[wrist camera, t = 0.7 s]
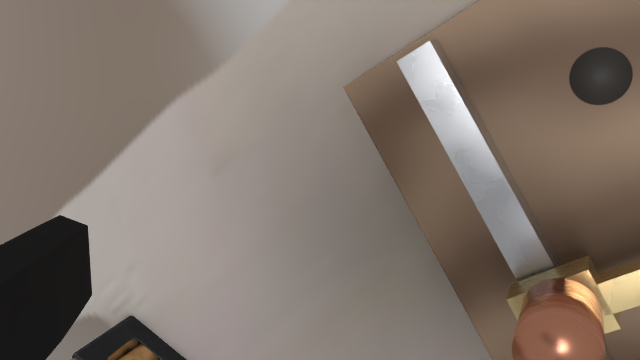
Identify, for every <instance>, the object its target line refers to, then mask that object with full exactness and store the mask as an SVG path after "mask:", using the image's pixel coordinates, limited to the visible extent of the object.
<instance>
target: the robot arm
mask: <svg viewBox="0 0 640 360" xmlns="http://www.w3.org/2000/svg"><path fill="white" fill-rule="evenodd" d="M91 296H92V287H91V271H90V255H89V238H88V226H87V225H85V224H82V223H79V222H77V221H74V220H71V219H69V218H66V217H63V216H61V215H59V216H57V217H55V218H53V219H51V220H49V221H47V222H45V223H43V224H41V225H39V226H37V227H35V228H33V229H31V230H29V231H27V232H25V233H23V234H21V235H19V236H17V237H15V238H13V239H11V240H9V241H7V242H5V243H4V244H2V245H0V360H46V358H47V357H48V356H49V355H50V354H51V353H52V351H53V350H54V349H55V348H56V346H57V345H58V344H59V343H60V342H61V341H62V339H63V338H64V336H65V335H66V333H67V332H68V331H69V329H70V328H71V326H72V325H73V323H74V322H75V320H76V319H77V317H78V316H79V314H80V313H81V311H82V310H83V308H84V307H85V305H86V303H87V302H88V300H89V299H90V297H91Z"/></svg>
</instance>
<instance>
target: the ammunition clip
mask: <svg viewBox="0 0 640 360" xmlns="http://www.w3.org/2000/svg"><path fill="white" fill-rule="evenodd" d="M71 360H186V359H185V358H184V357H183V356H181V355H180V354H179V353H178V352H176V351H175V350H174V349H173V348H172V347H170V346H169V345H168V344H167V343H165V342H164V341H163V340H162V339H161V338H159V337H158V336H157V335H156V334H155V333H153V332H152V331H151V330H150V329H148V328H147V327H146V326H145V325H144V324H142V323H141V322H140V321H139V320H137V319H136V318H135V317H134V316H129V317H128V318H126V319H125V320H123V321H122V322H120V323H119V324H117V325H116V326H114V327H113V328H111V329H110V330H108V331H107V332H105V333H104V334H102V335H101V336H99V337H98V338H96V339H95V340H93V341H92V342H90V343H89V344H87V345H86V346H84V347H83V348H81V349H80V350H78V351H77V352H75V353H74V354H73V356H72V359H71Z"/></svg>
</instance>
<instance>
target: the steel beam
mask: <svg viewBox="0 0 640 360" xmlns="http://www.w3.org/2000/svg"><path fill="white" fill-rule="evenodd" d="M396 62H397V63H398V65H399V67H400V69H401V71H402V72H403V74H404V76H405V78H406V80H407V82H408V83H409V85H410V87H411V89H412V91H413V92H414V94H415V96H416V98H417V100H418V102H419V103H420V105H421V107H422V109H423V111H424V112H425V114H426V116H427V118H428V120H429V122H430V123H431V125H432V127H433V129H434V131H435V132H436V134H437V136H438V138H439V140H440V142H441V143H442V145H443V147H444V149H445V151H446V152H447V154H448V156H449V158H450V160H451V162H452V163H453V165H454V167H455V169H456V171H457V172H458V174H459V176H460V178H461V180H462V182H463V183H464V185H465V187H466V189H467V191H468V192H469V194H470V196H471V198H472V200H473V202H474V203H475V205H476V207H477V209H478V211H479V212H480V214H481V216H482V218H483V220H484V222H485V223H486V225H487V227H488V229H489V231H490V232H491V234H492V236H493V238H494V240H495V242H496V243H497V245H498V247H499V249H500V251H501V252H502V254H503V256H504V258H505V260H506V262H507V263H508V265H509V267H510V269H511V271H512V272H513V274H514V276H515V278H516V280H517V282H518V281H521V280H523V279H526V278H529V277H532V276H534V275H537V274H540V273H542V272H545V271H548V270H550V269H553V268H556V267H558V266H561V265H562V264H561V262H560V260H559V258H558V257H557V255H556V253H555V251H554V249H553V248H552V246H551V244H550V242H549V240H548V238H547V237H546V235H545V233H544V231H543V229H542V228H541V226H540V224H539V222H538V220H537V219H536V217H535V215H534V213H533V211H532V209H531V208H530V206H529V204H528V202H527V200H526V199H525V197H524V195H523V193H522V191H521V190H520V188H519V186H518V184H517V182H516V180H515V179H514V177H513V175H512V173H511V171H510V170H509V168H508V166H507V164H506V162H505V161H504V159H503V157H502V155H501V153H500V151H499V150H498V148H497V146H496V144H495V142H494V141H493V139H492V137H491V135H490V133H489V132H488V130H487V128H486V126H485V124H484V122H483V121H482V119H481V117H480V115H479V113H478V112H477V110H476V108H475V106H474V104H473V103H472V101H471V99H470V97H469V95H468V93H467V92H466V90H465V88H464V86H463V84H462V83H461V81H460V79H459V77H458V75H457V74H456V72H455V70H454V68H453V66H452V64H451V63H450V61H449V59H448V57H447V55H446V54H445V52H444V50H443V48H442V46H441V45H440V43H439V41H428V42H427V43H425V44H423V45H422V46H420V47H419V48H417V49H416V50H414V51H412V52H411V53H409V54H408V55H406V56H404V57H403V58H401V59H400V60H398V61H396ZM605 358H606V360H614V358H613V356H612V355H611V353H610V351H609V349H608V347H607V345H606V344H605Z"/></svg>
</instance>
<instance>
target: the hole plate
mask: <svg viewBox="0 0 640 360" xmlns="http://www.w3.org/2000/svg"><path fill="white" fill-rule="evenodd" d="M428 41H439V43H440V45H441V46H442V48H443V50H444V52H445V54H446V55H447V57H448V59H449V61H450V63H451V64H452V66H453V68H454V70H455V72H456V74H457V75H458V77H459V79H460V81H461V83H462V84H463V86H464V88H465V90H466V92H467V93H468V95H469V97H470V99H471V101H472V103H473V104H474V106H475V108H476V110H477V112H478V113H479V115H480V117H481V119H482V121H483V122H484V124H485V126H486V128H487V130H488V132H489V133H490V135H491V137H492V139H493V141H494V142H495V144H496V146H497V148H498V150H499V151H500V153H501V155H502V157H503V159H504V161H505V162H506V164H507V166H508V168H509V170H510V171H511V173H512V175H513V177H514V179H515V180H516V182H517V184H518V186H519V188H520V190H521V191H522V193H523V195H524V197H525V199H526V200H527V202H528V204H529V206H530V208H531V209H532V211H533V213H534V215H535V217H536V219H537V220H538V222H539V224H540V226H541V228H542V229H543V231H544V233H545V235H546V237H547V238H548V240H549V242H550V244H551V246H552V248H553V249H554V251H555V253H556V255H557V257H558V258H559V260H560V262H561V264H562V265H564V264H566V263H569V262H572V261H575V260H577V259H580V258H583V257H585V256H588V255H589V257H590V259H591V261H592V263H593V264H594V266H595V268H596V270H597V272H598V273H599V274H600V273H602V272H605V271H608V270H611V269H614V268H617V267H619V266H622V265H625V264H628V263H631V262H634V261H636V260H639V259H640V0H480V1H478V2H476V3H475V4H473V5H472V6H470V7H469V8H467V9H465V10H464V11H462V12H461V13H459V14H458V15H456V16H454V17H453V18H451V19H450V20H448V21H447V22H445V23H443V24H442V25H440V26H439V27H437V28H436V29H434V30H432V31H431V32H429V33H428V34H426V35H425V36H423V37H421V38H420V39H418V40H417V41H415V42H414V43H412V44H411V45H409V46H407V47H406V48H404V49H403V50H401V51H400V52H398V53H396V54H395V55H393V56H392V57H390V58H389V59H387V60H385V61H384V62H382V63H381V64H379V65H378V66H376V67H374V68H373V69H371V70H370V71H368V72H367V73H365V74H363V75H362V76H360V77H359V78H357V79H356V80H354V81H352V82H351V83H349V84H348V85H346V86H345V87H343V88H344V89H345V91H346V93H347V95H348V97H349V99H350V100H351V102H352V104H353V106H354V108H355V109H356V111H357V113H358V115H359V117H360V119H361V120H362V122H363V124H364V126H365V128H366V130H367V131H368V133H369V135H370V137H371V139H372V140H373V142H374V144H375V146H376V148H377V150H378V151H379V153H380V155H381V157H382V159H383V161H384V162H385V164H386V166H387V168H388V170H389V171H390V173H391V175H392V177H393V179H394V181H395V182H396V184H397V186H398V188H399V190H400V192H401V193H402V195H403V197H404V199H405V201H406V202H407V204H408V206H409V208H410V210H411V212H412V213H413V215H414V217H415V219H416V221H417V223H418V224H419V226H420V228H421V230H422V232H423V233H424V235H425V237H426V239H427V241H428V243H429V244H430V246H431V248H432V250H433V252H434V254H435V255H436V257H437V259H438V261H439V263H440V264H441V266H442V268H443V270H444V272H445V274H446V275H447V277H448V279H449V281H450V283H451V285H452V286H453V288H454V290H455V292H456V294H457V295H458V297H459V299H460V301H461V303H462V305H463V306H464V308H465V310H466V312H467V314H468V316H469V317H470V319H471V321H472V323H473V325H474V326H475V328H476V330H477V332H478V334H479V336H480V337H481V339H482V341H483V343H484V345H485V347H486V348H487V350H488V352H489V354H490V356H491V357H492V359H493V360H513V356H512V342H513V338H514V334H515V330H516V326H517V322H518V320H517V318H516V317H515V315H514V313H513V311H512V309H511V308H510V306H509V304H508V302H507V300H506V298H507V295H508V292H509V289H510V286H511V284H513V283H515V282H517V280H516V278H515V276H514V274H513V272H512V271H511V269H510V267H509V265H508V263H507V262H506V260H505V258H504V256H503V254H502V252H501V251H500V249H499V247H498V245H497V243H496V242H495V240H494V238H493V236H492V234H491V232H490V231H489V229H488V227H487V225H486V223H485V222H484V220H483V218H482V216H481V214H480V212H479V211H478V209H477V207H476V205H475V203H474V202H473V200H472V198H471V196H470V194H469V192H468V191H467V189H466V187H465V185H464V183H463V182H462V180H461V178H460V176H459V174H458V172H457V171H456V169H455V167H454V165H453V163H452V162H451V160H450V158H449V156H448V154H447V152H446V151H445V149H444V147H443V145H442V143H441V142H440V140H439V138H438V136H437V134H436V132H435V131H434V129H433V127H432V125H431V123H430V122H429V120H428V118H427V116H426V114H425V112H424V111H423V109H422V107H421V105H420V103H419V102H418V100H417V98H416V96H415V94H414V92H413V91H412V89H411V87H410V85H409V83H408V82H407V80H406V78H405V76H404V74H403V72H402V71H401V69H400V67H399V65H398V63H397V62H396V61H398V60H400V59H401V58H403V57H404V56H406V55H408V54H409V53H411V52H412V51H414V50H416V49H417V48H419V47H420V46H422V45H423V44H425V43H427V42H428ZM619 316H620V325H621V329H619V330H615V331H612V332H609V333H605V334H604V338H605V344H606V345H607V347H608V349H609V351H610V353H611V355H612V356H613V358H614V360H640V306H637V307H634V308H630V309H627V310H624V311H621V312H619Z"/></svg>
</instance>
